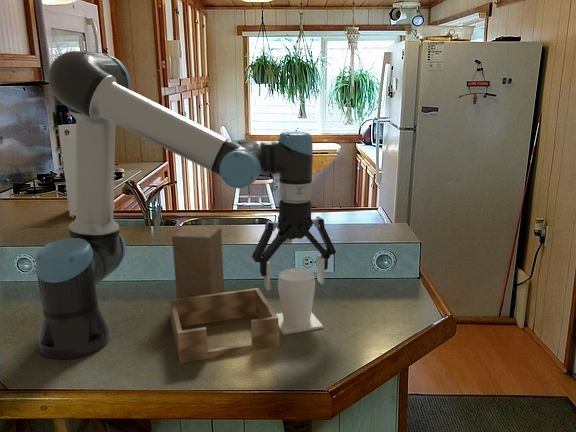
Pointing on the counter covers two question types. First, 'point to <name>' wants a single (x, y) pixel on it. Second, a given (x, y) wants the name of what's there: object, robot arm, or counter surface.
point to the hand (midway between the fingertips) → (294, 285)
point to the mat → (289, 329)
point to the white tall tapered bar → (69, 163)
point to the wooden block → (198, 261)
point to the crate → (218, 309)
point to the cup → (296, 295)
